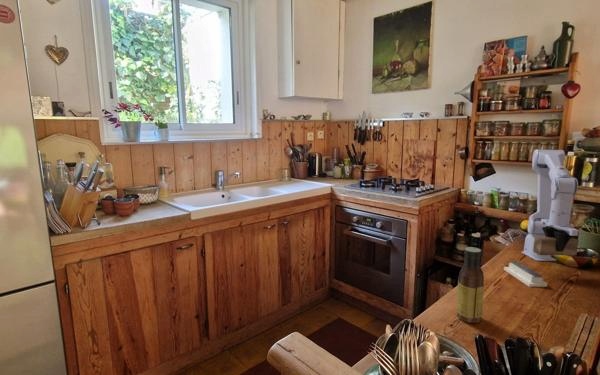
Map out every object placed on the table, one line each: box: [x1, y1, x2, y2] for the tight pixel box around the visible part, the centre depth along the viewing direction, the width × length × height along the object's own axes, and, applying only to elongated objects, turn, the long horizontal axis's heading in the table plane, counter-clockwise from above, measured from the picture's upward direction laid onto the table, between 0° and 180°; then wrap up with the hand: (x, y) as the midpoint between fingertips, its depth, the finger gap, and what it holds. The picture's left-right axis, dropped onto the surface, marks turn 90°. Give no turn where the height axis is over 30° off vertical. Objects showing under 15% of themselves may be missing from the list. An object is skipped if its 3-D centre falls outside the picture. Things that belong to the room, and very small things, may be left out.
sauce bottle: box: [456, 246, 485, 324], centre depth 92 cm, size 7×6×20 cm
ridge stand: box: [503, 260, 548, 288], centre depth 120 cm, size 14×6×4 cm, turn 1°
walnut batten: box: [533, 237, 579, 256], centre depth 121 cm, size 4×13×6 cm, turn 91°
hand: (555, 249), depth 122 cm, fingers closed on walnut batten, 3 cm apart
